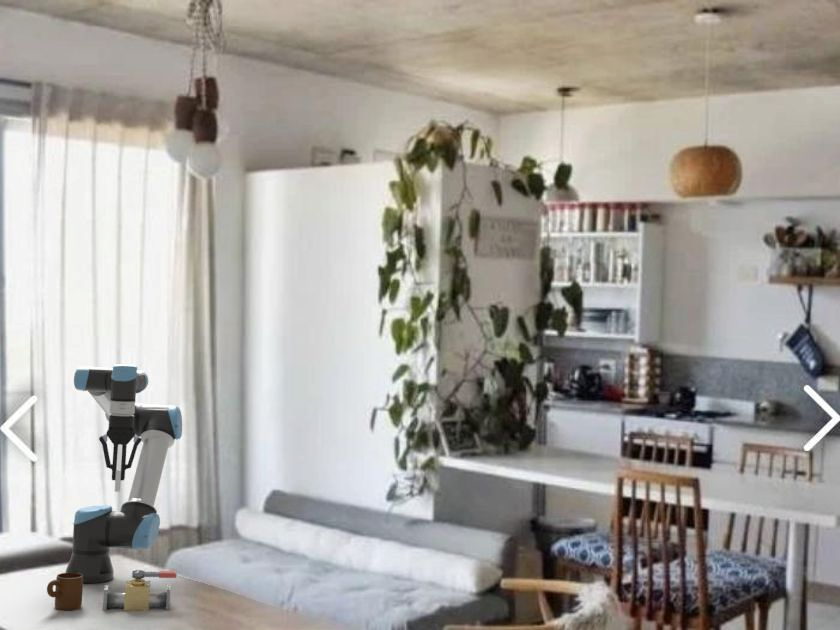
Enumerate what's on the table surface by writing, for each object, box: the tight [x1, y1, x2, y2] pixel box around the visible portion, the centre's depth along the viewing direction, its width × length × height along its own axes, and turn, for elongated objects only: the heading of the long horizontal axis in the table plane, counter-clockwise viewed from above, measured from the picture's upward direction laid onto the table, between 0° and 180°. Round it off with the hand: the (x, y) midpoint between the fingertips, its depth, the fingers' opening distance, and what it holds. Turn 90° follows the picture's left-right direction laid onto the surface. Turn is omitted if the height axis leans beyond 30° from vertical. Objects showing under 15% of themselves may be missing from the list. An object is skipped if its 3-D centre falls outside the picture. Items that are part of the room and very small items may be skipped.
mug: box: [46, 572, 84, 611], centre depth 305 cm, size 12×8×9 cm, turn 152°
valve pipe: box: [102, 578, 172, 612], centre depth 311 cm, size 9×20×9 cm, turn 104°
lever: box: [131, 569, 177, 579], centre depth 312 cm, size 13×4×2 cm, turn 103°
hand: (117, 490), depth 321 cm, fingers closed
